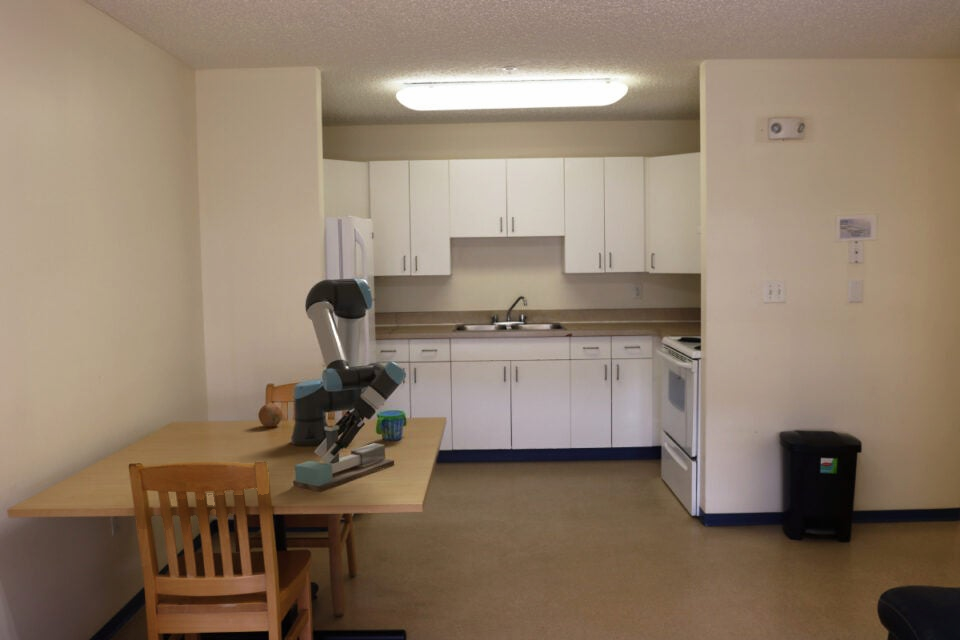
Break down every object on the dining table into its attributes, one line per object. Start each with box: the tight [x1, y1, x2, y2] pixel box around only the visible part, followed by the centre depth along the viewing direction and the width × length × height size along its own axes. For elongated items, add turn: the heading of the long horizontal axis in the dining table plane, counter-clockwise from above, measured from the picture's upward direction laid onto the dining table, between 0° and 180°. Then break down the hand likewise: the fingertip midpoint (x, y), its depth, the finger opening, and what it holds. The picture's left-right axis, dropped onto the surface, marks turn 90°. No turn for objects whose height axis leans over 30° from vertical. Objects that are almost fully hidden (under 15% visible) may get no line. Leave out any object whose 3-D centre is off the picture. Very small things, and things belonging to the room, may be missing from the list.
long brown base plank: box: [292, 442, 395, 492], centre depth 251 cm, size 12×34×6 cm, turn 145°
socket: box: [294, 460, 333, 486], centre depth 239 cm, size 10×6×5 cm, turn 55°
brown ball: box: [258, 402, 283, 428], centre depth 325 cm, size 10×10×10 cm
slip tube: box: [323, 424, 361, 474], centre depth 248 cm, size 3×22×14 cm, turn 145°
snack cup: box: [375, 409, 408, 441], centre depth 298 cm, size 16×10×10 cm
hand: (320, 458), depth 245 cm, fingers open, 8 cm apart
